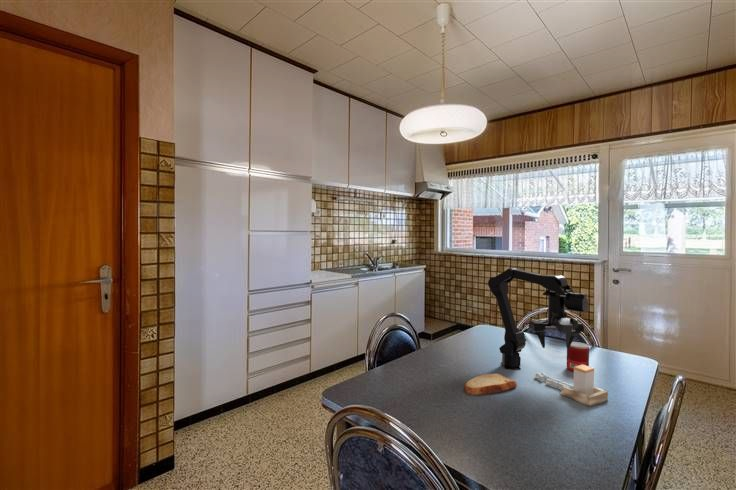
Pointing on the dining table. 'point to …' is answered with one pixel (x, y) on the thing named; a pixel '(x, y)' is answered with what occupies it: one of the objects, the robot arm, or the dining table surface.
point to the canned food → (577, 355)
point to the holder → (585, 396)
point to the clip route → (552, 381)
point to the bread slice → (489, 384)
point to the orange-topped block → (584, 379)
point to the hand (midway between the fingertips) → (555, 348)
